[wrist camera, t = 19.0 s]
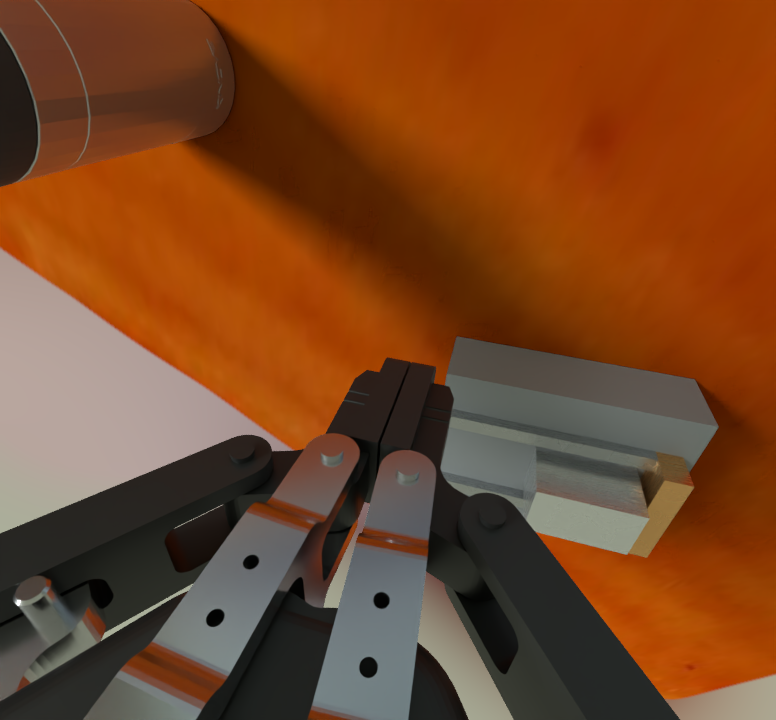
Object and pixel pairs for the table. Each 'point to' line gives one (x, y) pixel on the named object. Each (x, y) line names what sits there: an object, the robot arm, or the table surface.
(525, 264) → the table surface
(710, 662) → the table surface
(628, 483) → the aluminium block
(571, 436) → the channel stand
